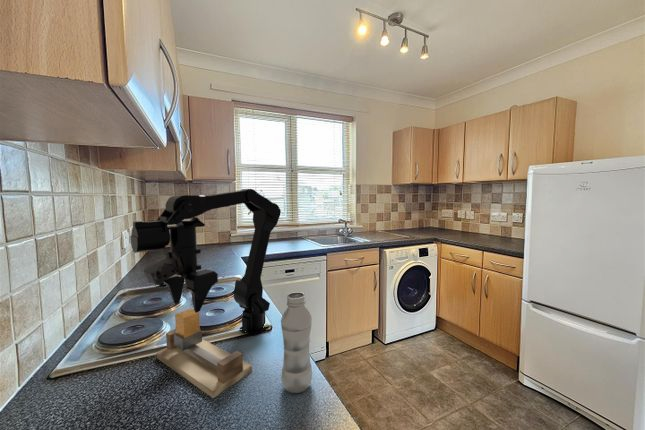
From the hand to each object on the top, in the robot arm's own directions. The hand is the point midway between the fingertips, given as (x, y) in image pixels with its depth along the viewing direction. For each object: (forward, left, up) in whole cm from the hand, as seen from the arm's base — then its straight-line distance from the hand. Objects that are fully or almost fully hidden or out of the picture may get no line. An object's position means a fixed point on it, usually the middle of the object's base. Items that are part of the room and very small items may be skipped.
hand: (186, 307), depth 66 cm
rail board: (0, +6, -13) cm, 14 cm away
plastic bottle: (-7, +30, -13) cm, 33 cm away
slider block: (0, 0, -10) cm, 10 cm away
